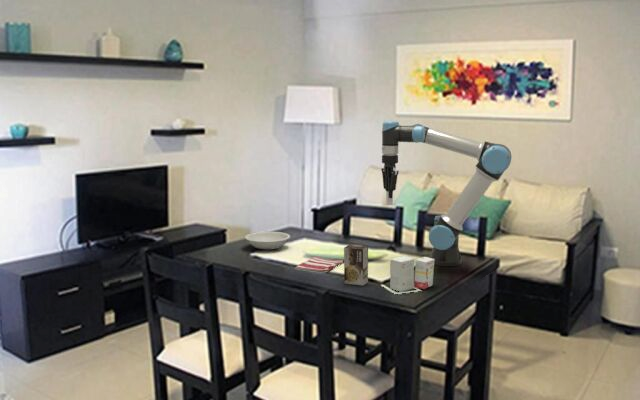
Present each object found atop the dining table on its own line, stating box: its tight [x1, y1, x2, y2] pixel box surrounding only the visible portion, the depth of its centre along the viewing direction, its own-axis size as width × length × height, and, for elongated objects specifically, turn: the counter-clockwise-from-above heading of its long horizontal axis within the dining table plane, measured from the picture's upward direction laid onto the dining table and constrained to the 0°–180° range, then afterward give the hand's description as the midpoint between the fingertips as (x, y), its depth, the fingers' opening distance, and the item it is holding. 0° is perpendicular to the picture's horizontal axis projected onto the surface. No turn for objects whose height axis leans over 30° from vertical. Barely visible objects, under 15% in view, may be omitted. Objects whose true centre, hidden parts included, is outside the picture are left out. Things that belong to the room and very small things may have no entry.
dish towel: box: [294, 255, 344, 274], centre depth 295 cm, size 17×23×3 cm
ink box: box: [414, 256, 435, 290], centre depth 260 cm, size 9×5×12 cm, turn 144°
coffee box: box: [343, 243, 369, 286], centre depth 266 cm, size 9×6×16 cm
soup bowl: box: [244, 231, 291, 250], centre depth 329 cm, size 24×24×7 cm
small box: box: [389, 255, 415, 292], centre depth 258 cm, size 8×6×13 cm
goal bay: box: [380, 284, 423, 295], centre depth 259 cm, size 12×13×1 cm
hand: (389, 204), depth 290 cm, fingers closed
